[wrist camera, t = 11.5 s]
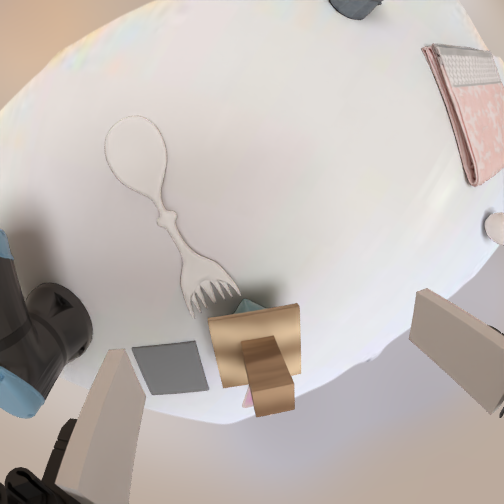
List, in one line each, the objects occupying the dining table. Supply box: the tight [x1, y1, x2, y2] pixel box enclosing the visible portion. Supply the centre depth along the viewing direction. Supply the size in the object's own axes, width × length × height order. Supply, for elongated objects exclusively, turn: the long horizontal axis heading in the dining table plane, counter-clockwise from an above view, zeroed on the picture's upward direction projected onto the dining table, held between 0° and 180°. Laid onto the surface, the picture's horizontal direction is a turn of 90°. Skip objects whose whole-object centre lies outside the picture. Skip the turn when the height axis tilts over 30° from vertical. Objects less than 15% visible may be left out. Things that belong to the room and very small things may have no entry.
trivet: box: [132, 341, 209, 395], centre depth 46 cm, size 12×12×1 cm
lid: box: [208, 303, 301, 417], centre depth 32 cm, size 12×12×11 cm
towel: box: [422, 43, 504, 187], centre depth 39 cm, size 36×34×6 cm
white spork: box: [105, 116, 241, 319], centre depth 37 cm, size 9×32×4 cm, turn 26°
